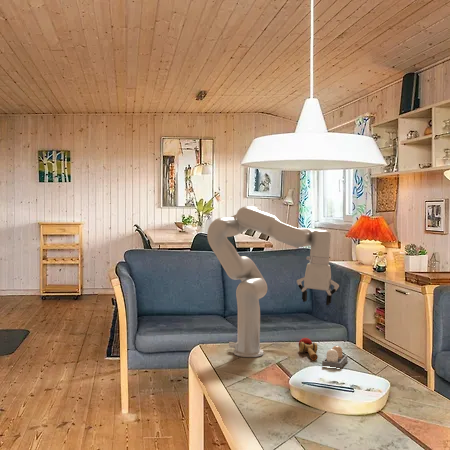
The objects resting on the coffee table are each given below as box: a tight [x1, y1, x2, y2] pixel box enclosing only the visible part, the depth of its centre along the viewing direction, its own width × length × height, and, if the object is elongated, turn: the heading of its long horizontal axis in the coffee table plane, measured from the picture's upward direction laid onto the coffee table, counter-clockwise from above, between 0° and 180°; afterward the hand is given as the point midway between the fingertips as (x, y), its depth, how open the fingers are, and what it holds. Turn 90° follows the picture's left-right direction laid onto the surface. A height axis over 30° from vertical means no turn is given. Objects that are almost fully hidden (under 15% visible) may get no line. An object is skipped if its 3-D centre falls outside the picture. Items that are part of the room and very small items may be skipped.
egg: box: [325, 348, 338, 362], centre depth 239 cm, size 4×4×6 cm
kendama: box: [298, 337, 319, 361], centre depth 256 cm, size 8×6×18 cm
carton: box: [321, 345, 348, 369], centre depth 242 cm, size 7×13×7 cm, turn 156°
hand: (316, 303), depth 244 cm, fingers open, 9 cm apart
